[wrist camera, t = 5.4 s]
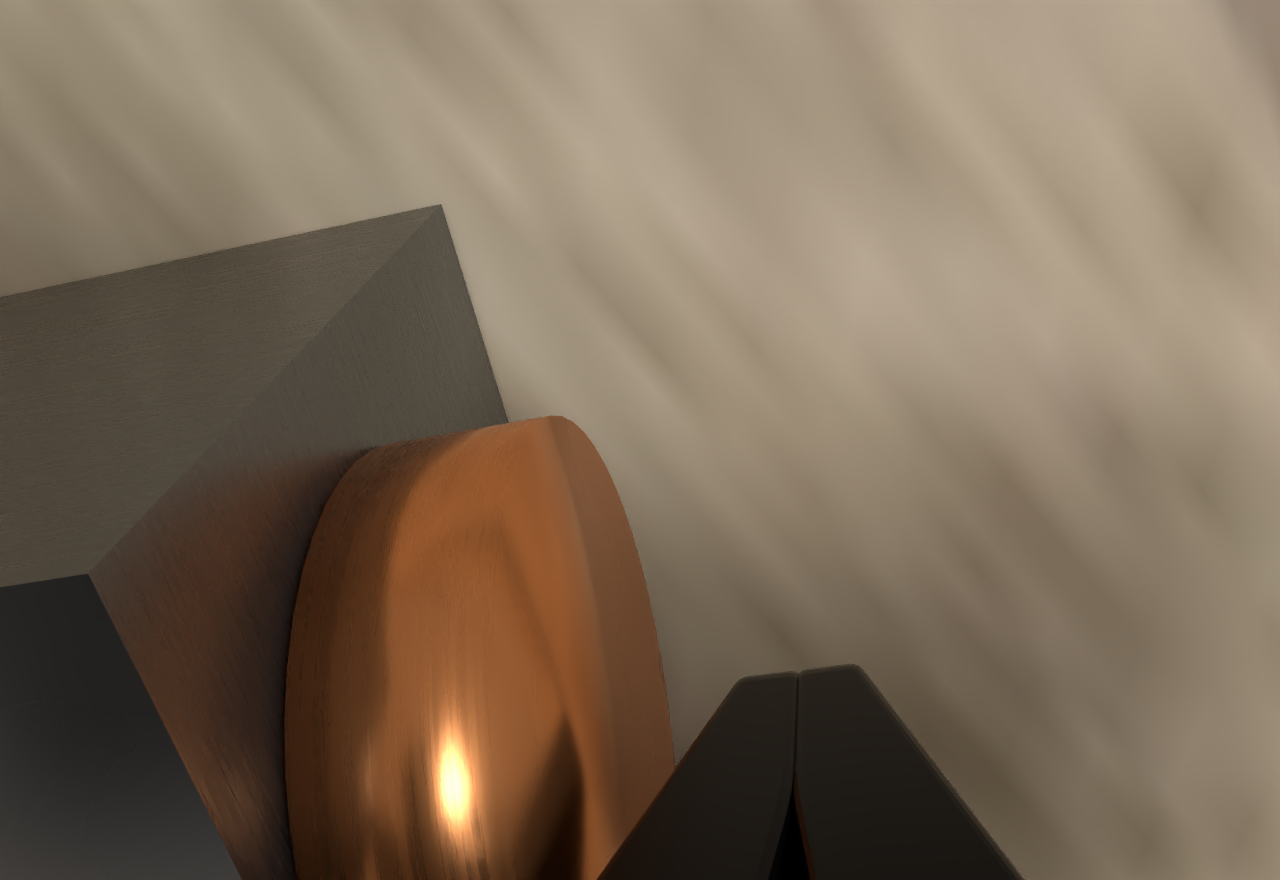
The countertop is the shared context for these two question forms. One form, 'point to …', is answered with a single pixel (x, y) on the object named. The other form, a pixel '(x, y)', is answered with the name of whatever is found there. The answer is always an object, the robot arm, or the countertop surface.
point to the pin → (473, 665)
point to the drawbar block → (195, 527)
